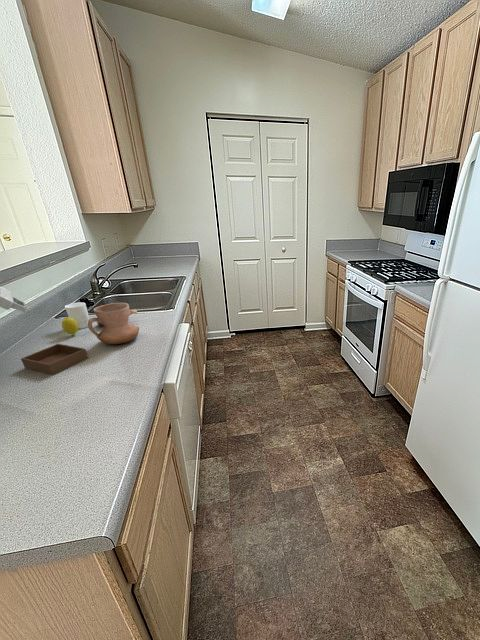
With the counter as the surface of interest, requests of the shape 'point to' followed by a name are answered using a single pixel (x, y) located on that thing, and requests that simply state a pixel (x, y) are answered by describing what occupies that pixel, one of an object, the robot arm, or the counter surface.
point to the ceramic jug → (114, 323)
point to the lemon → (69, 326)
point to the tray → (54, 358)
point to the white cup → (78, 313)
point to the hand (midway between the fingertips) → (24, 307)
